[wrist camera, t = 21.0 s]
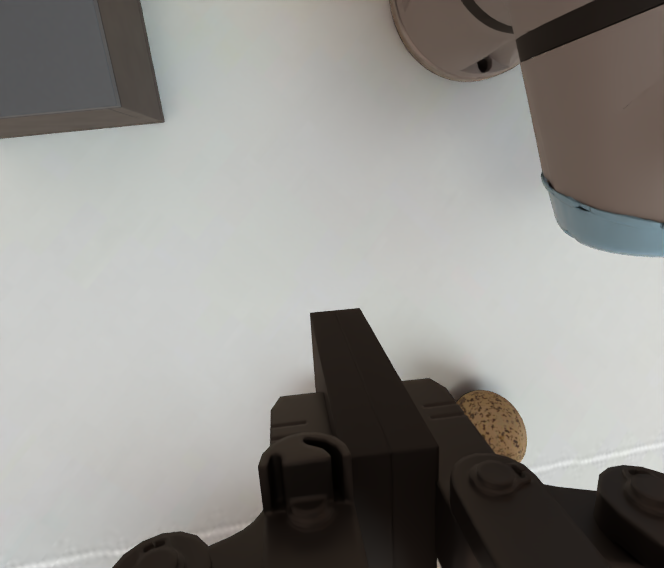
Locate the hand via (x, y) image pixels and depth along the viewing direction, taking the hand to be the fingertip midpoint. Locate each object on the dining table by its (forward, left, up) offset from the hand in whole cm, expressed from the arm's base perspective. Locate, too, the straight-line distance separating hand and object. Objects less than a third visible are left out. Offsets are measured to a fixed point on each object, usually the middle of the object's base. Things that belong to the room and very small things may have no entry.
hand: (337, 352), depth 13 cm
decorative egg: (+4, +29, -31) cm, 42 cm away
